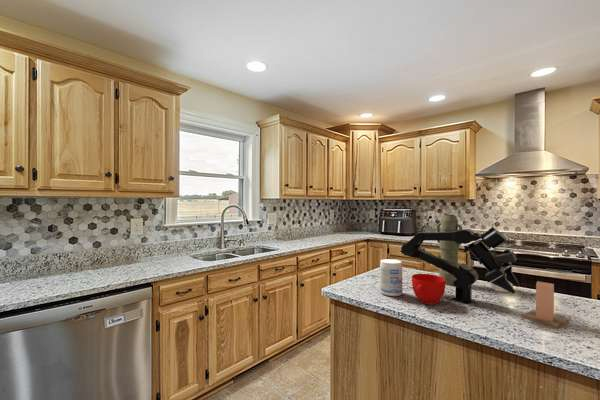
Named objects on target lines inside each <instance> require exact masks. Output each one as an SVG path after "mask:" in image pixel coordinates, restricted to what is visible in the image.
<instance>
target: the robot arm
mask: <svg viewBox="0 0 600 400" xmlns="http://www.w3.org/2000/svg"><path fill="white" fill-rule="evenodd" d="M424 241H453V242H457V243H462V244H464V246H463V248H464V249H463V250H464V251H463V252H464V253H468V252H469V251H470V252H471V254H472V255H473V256H474V257H475V258H476V259H477V260H478V261H479V262H478V264H479V265H483V267H484V268H485V269H486V274H485V275H484V279H485V280H486V282H487V283H489V282H491V283H493V284H495V285H497V286H499V287H501V288H503V289H505V290H507V291H509V292H508V293H511V294H515V293H516V290H515V289H514V286H515V287H517V288H518V287H519V286H521V284H520V283H519V281H518V280H517V277H516V276H515V274H514V273H513V263H515V262H517V260H518V259H517V256H516V253H514V251H512V250H510V249H504V250H503V253H501V254H497V253H496V252H492V250H490V249H491V248H492V249H496V248H498V247H499V246H500V245H503V244H504V243H505V242H507V241H508V239H507V237H506V236H505V235H504V234H503V233H502V232H501V231H499V230H498V229H496V227H494V226H492V227H491V228H489V229H488V230H487V231H485V232H484V233H478V232H474V231H473V230H472V229H470V228H464V229H463V228H462V230H459V229H458V230H457V231H452V232H441V231H440V232H437V231H419V232H418V231H417V233H416V234H415V235H414V236H413V237H412V238H411V239H410V240H408V241H407V242H406V243H404V244H402V245H401V248H400V251H401V253H402V255H404V256H406V257H409V258H412V259H419V260H421V261H424V262H426V263H428V264H430V265H432V266H434V267H437V269H442V270H444V271H446V272H448V273H450V274H452V275H453V276H454V277H455V278H456V279H457V280H455V281H454V282H453V283H454V286H453V287H454V288H455V296H454V297H451V300H454V301H456V302H459V303H462V304H466V305H468V304H470V303H475V302H476V299H473V298H472V296H473V294H472V290H473V289H472V285H474V284H475V283H476V282H477V281H478V280H479V274H478V271H477V270H475V269H474V267H473V266H468V265H467V264H465V263H462V264H460V265H459V264H458V265H455V264H453V263H450V262H448V261H446V260H444V259H442V258H441V257H439V256H437V255H435V254H432V253H431V252H429V251H426V250H424V248H423V247H421V245H422V244H423V242H424ZM477 241H478V242H477ZM471 242H472V243H471ZM469 243H470V244H469ZM468 244H469V245H468ZM508 281H509V282H510V283H512V284H513V287H512V286H511V284H510V283H509V282H508Z"/></svg>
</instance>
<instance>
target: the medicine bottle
mask: <svg viewBox="0 0 600 400" xmlns="http://www.w3.org/2000/svg"><path fill="white" fill-rule="evenodd" d="M508 282H509V281H508ZM509 283H510V282H509ZM510 284H511V286H512V287H513V288H514V285H513V284H512V283H510ZM488 286H489V288H490V289H492V290H494V291H495V292H501V293H502V292H503V293H504V292H505V293H510V292H509V291H507V290H505V289H503V288H501V287H499V286H497V285H495V284H493V283H491V282H488Z"/></svg>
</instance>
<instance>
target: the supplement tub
mask: <svg viewBox="0 0 600 400" xmlns="http://www.w3.org/2000/svg"><path fill="white" fill-rule="evenodd" d="M379 269H380V270H379V271H380V274H379V275H380V278H379V279H380V283H379V284H380V285H379V286H380V293H381V294H382V295H385V296H389V297H398V296H401V295H402V294H403V262H402V261H401V260H399V259H393V258H388V259H380V267H379Z"/></svg>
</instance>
